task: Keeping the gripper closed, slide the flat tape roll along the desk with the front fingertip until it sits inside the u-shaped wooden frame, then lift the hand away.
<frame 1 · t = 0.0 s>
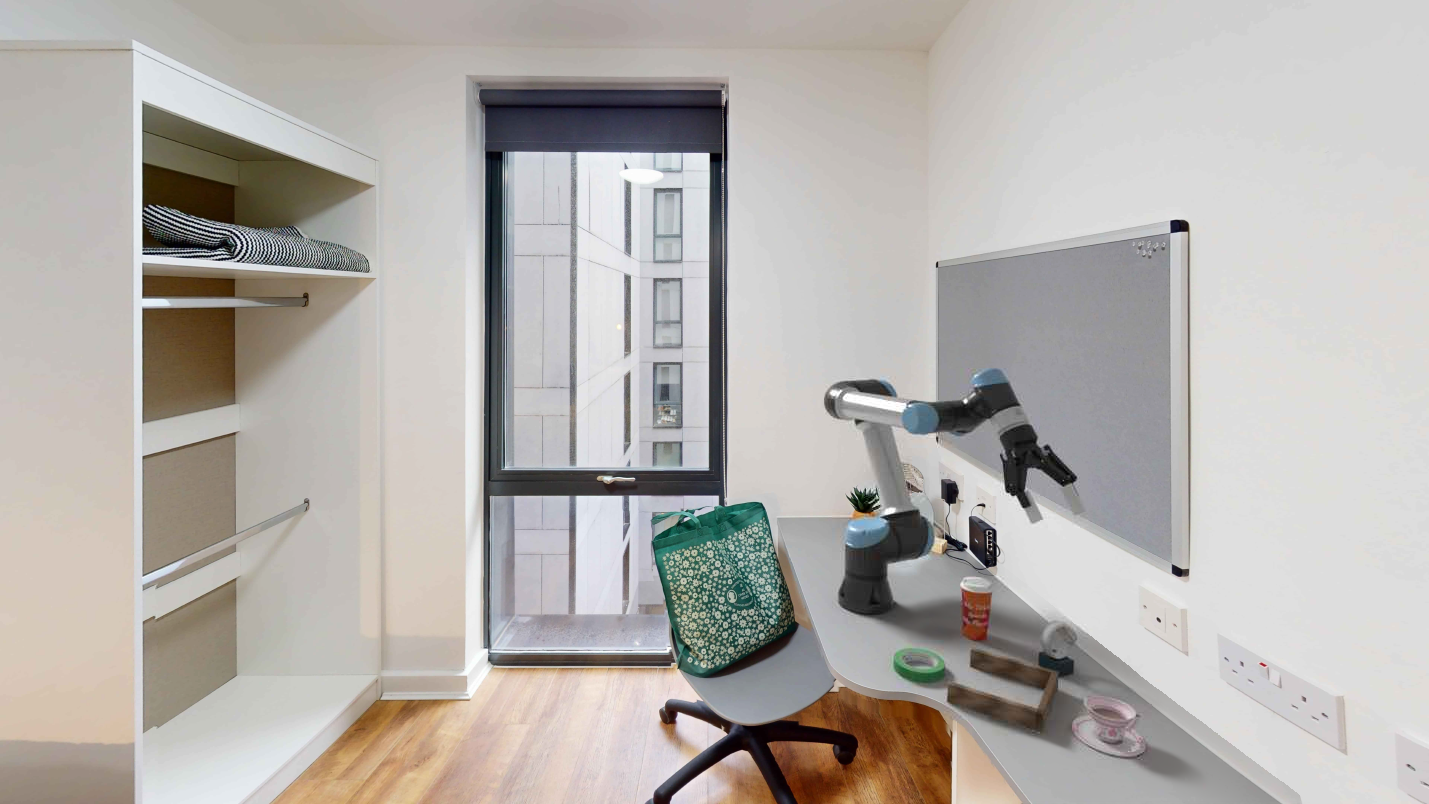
hand: (1059, 517, 138), 36 cm above the table, tool tilted 35°, fingers open, 13 cm apart
u-shaped wooden frame: (1004, 695, 135), on the table
teacup: (1107, 738, 121), on the table
paper cup: (975, 636, 161), on the table
tape roll: (918, 671, 145), on the table
watch: (1055, 670, 145), on the table
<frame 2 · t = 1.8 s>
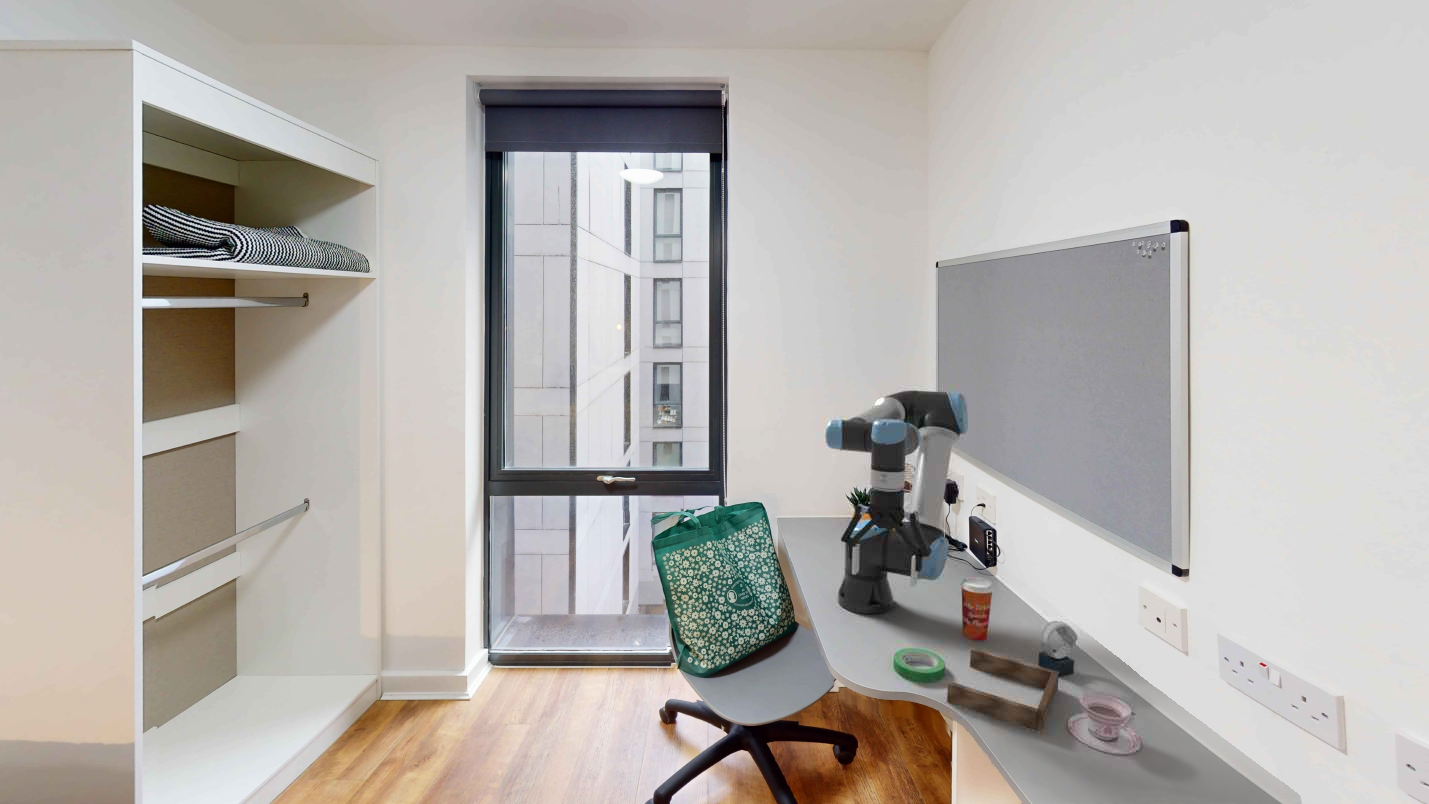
hand: (883, 578, 148), 19 cm above the table, tool pointing down, fingers open, 13 cm apart
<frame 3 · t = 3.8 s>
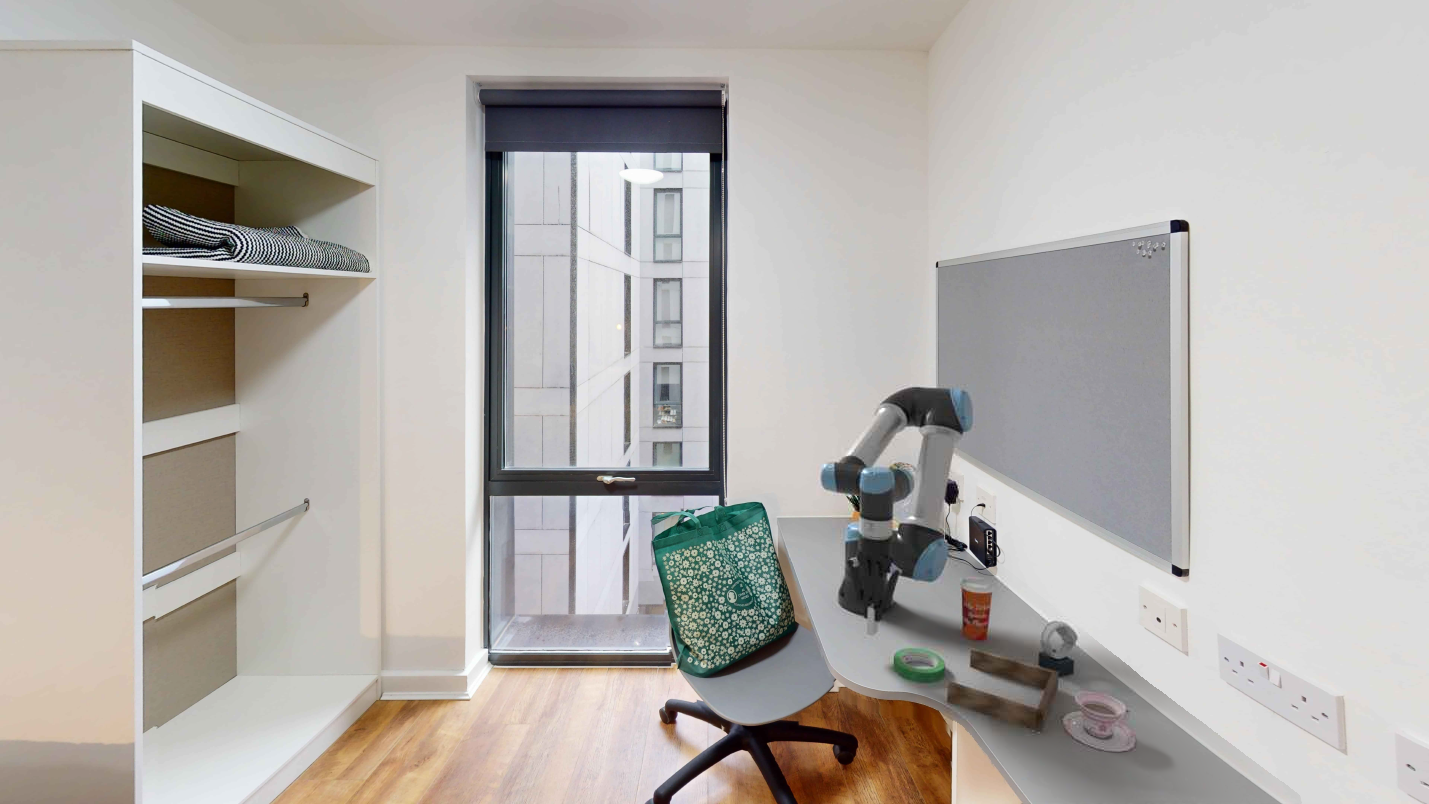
hand: (872, 632, 151), 6 cm above the table, tool pointing down, fingers closed
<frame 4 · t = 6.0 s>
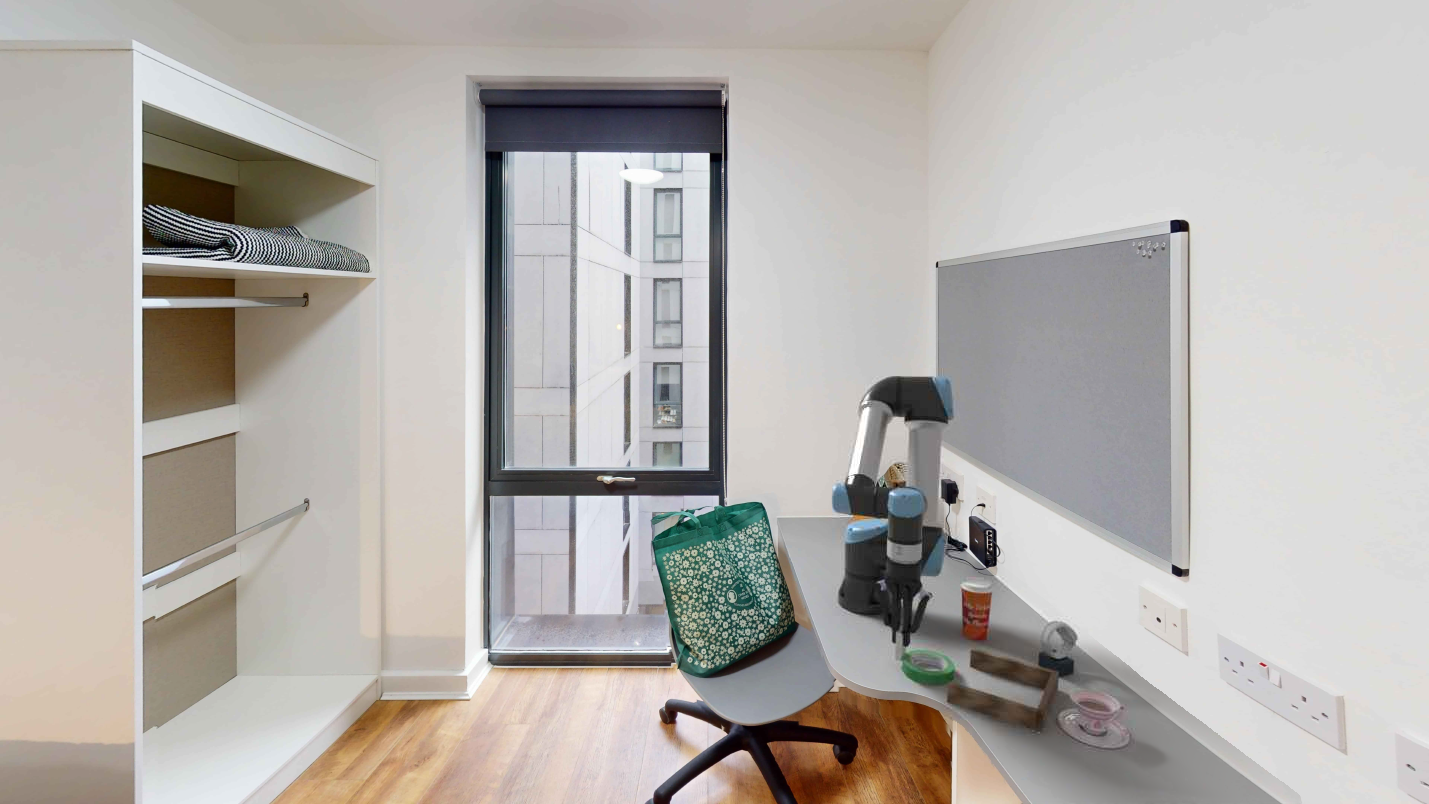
hand: (900, 657, 147), 2 cm above the table, tool pointing down, fingers closed
teacup: (1092, 730, 124), on the table
tape roll: (927, 673, 144), on the table
everything else where it was.
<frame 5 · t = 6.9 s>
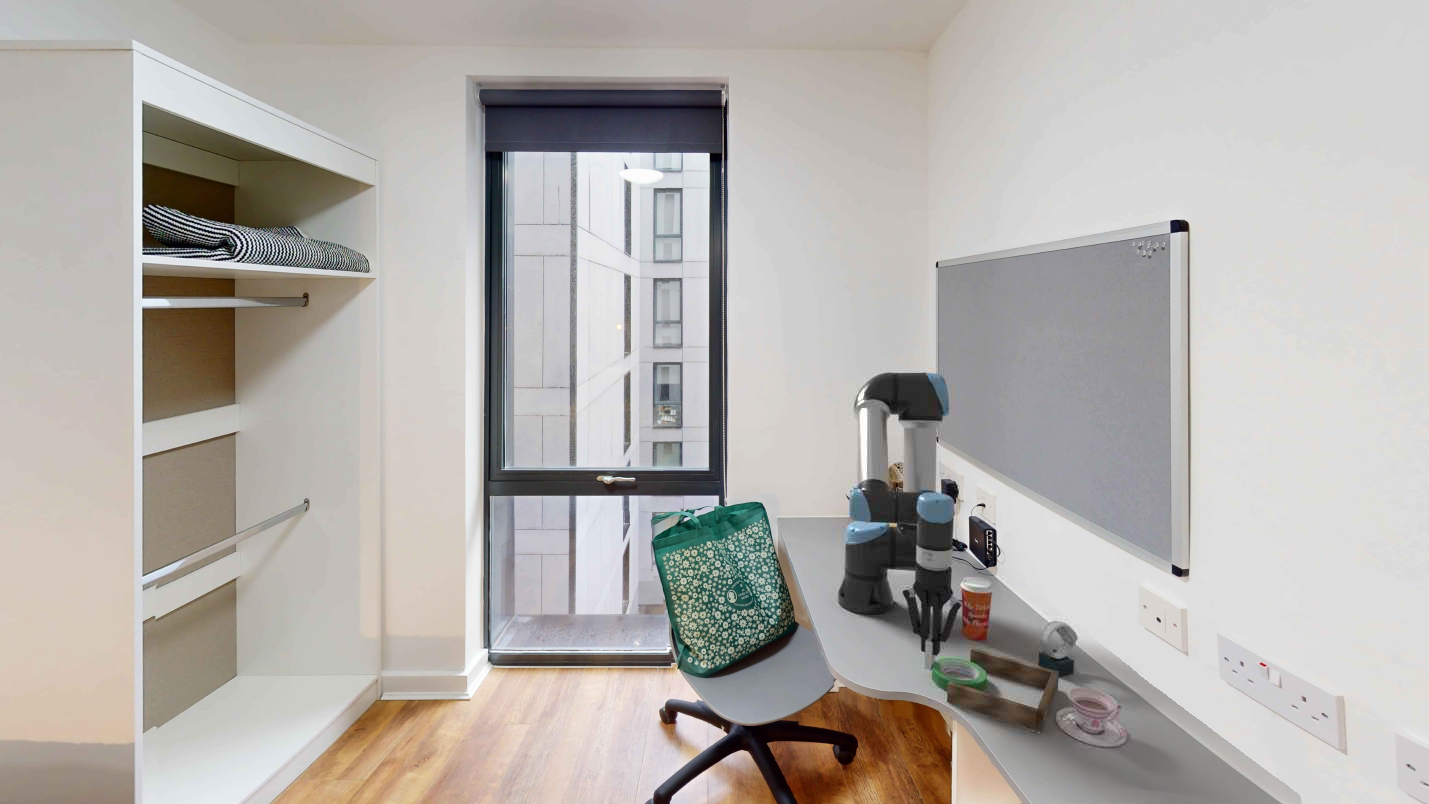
hand: (929, 666, 143), 2 cm above the table, tool pointing down, fingers closed
tape roll: (958, 682, 140), on the table, touching gripper
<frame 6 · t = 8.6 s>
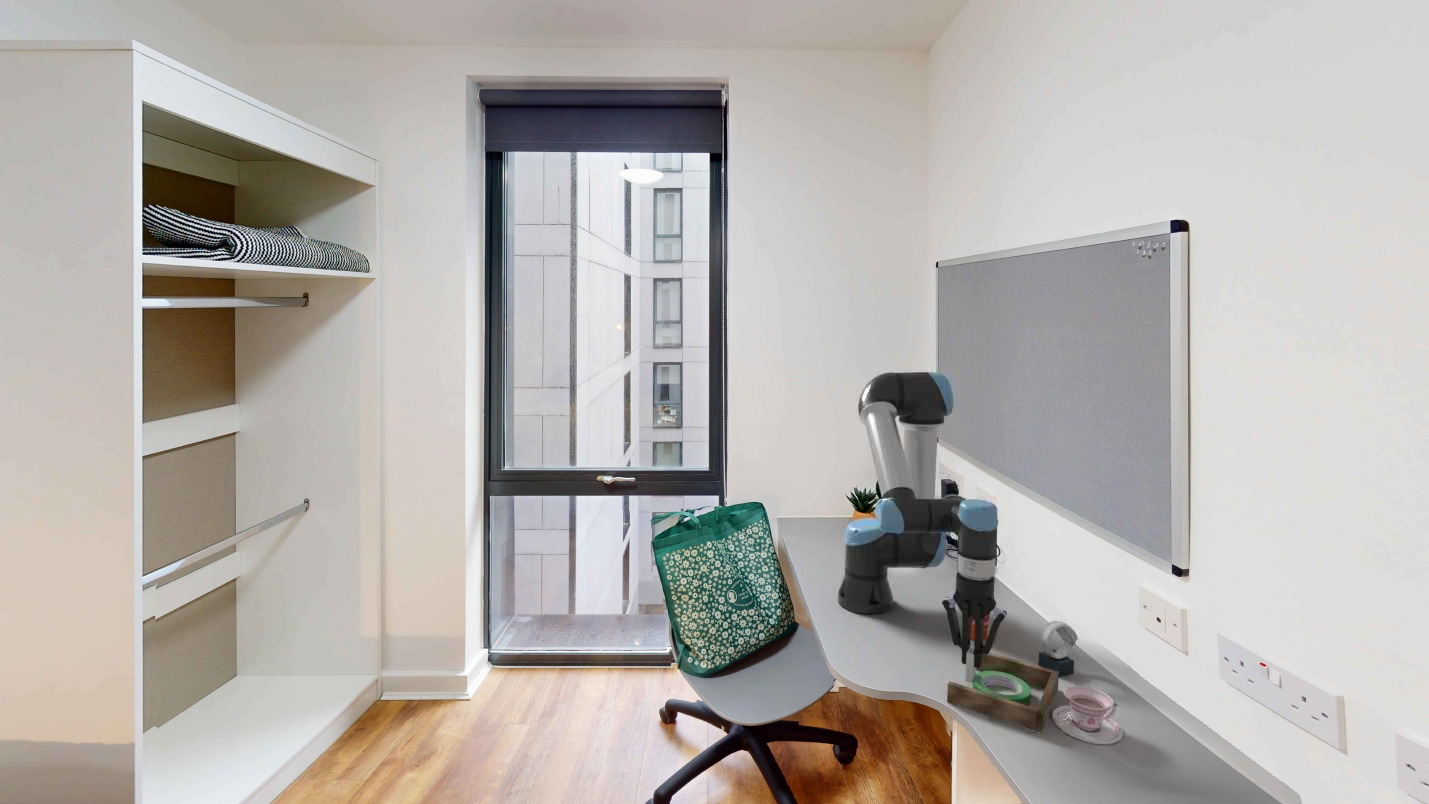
hand: (970, 679, 138), 1 cm above the table, tool pointing down, fingers closed
tape roll: (1000, 696, 135), on the table
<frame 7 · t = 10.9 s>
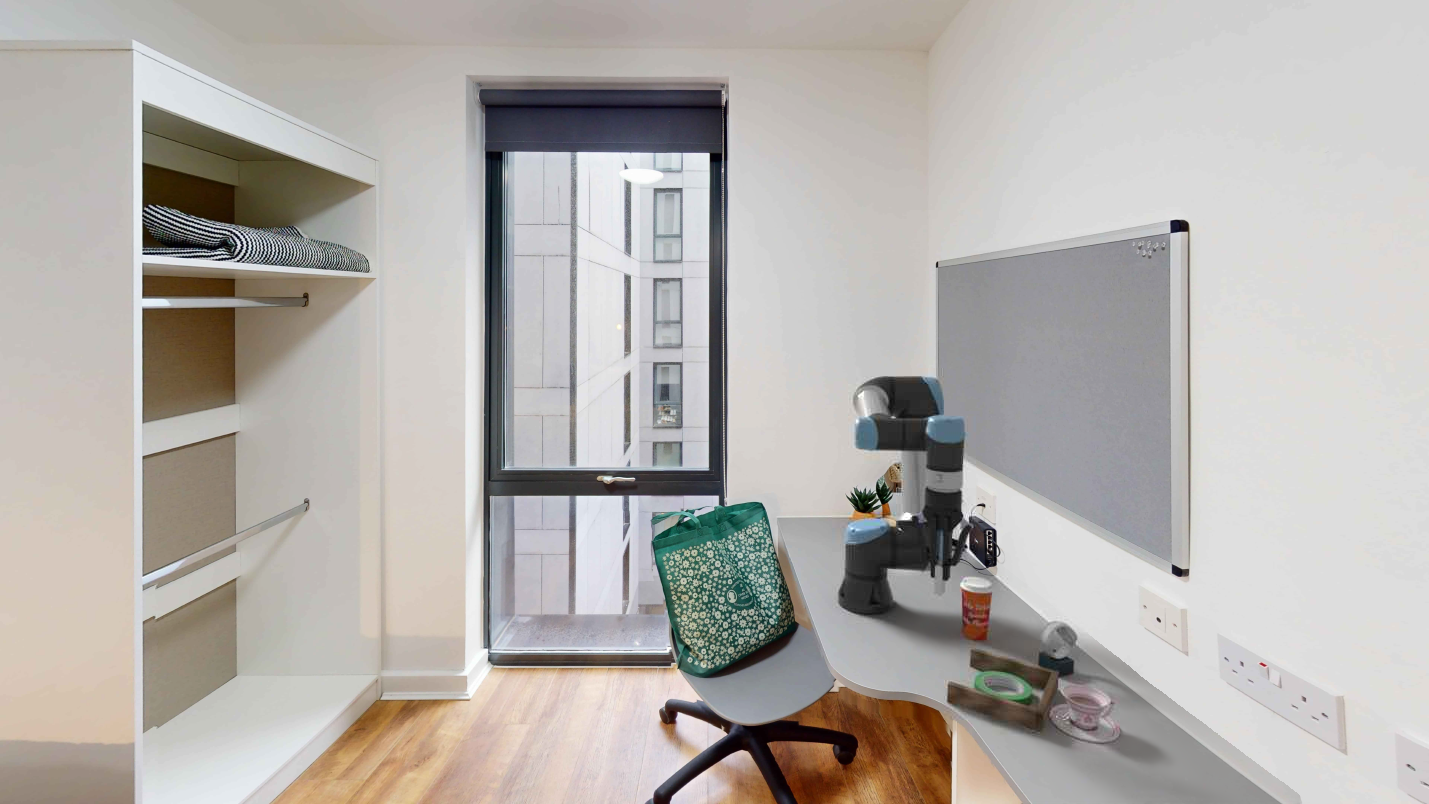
hand: (939, 592, 141), 19 cm above the table, tool pointing down, fingers closed
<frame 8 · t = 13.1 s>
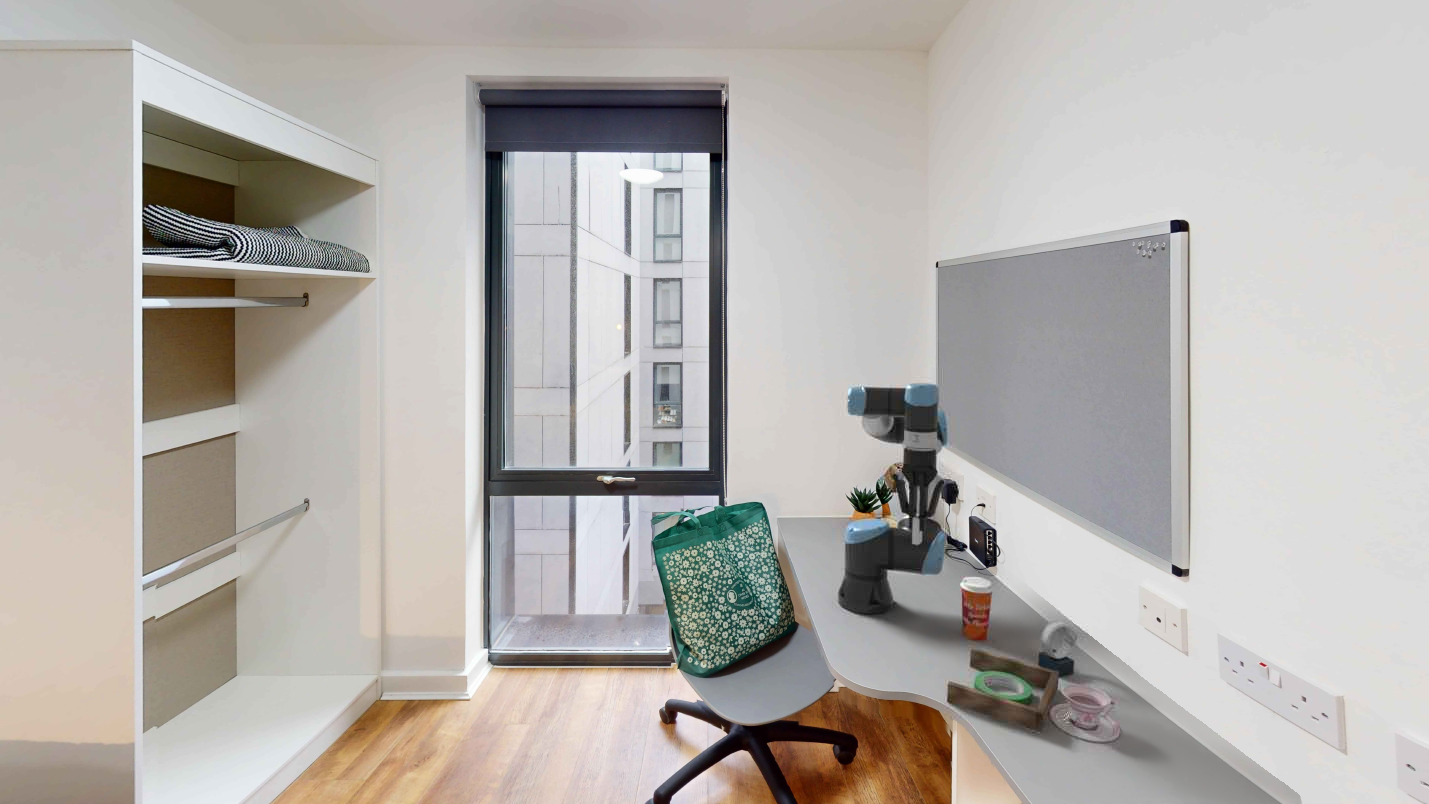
hand: (916, 542, 157), 24 cm above the table, tool pointing down, fingers closed
at the end: tape roll inside the target area (0.9 cm from its centre), on the table; tape roll moved 17.6 cm from its start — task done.
